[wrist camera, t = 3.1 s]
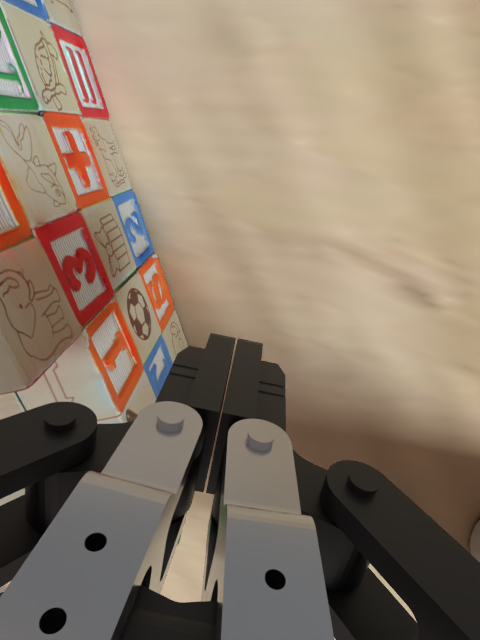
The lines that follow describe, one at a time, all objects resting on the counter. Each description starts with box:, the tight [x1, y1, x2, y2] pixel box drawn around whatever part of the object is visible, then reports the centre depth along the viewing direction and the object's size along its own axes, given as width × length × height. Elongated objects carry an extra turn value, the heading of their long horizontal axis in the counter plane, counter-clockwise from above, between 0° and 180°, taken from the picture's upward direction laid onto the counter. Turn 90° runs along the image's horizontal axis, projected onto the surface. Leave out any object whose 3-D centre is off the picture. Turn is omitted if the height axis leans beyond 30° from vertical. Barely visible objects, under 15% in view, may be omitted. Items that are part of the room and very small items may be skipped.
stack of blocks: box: [0, 0, 188, 545], centre depth 15 cm, size 21×6×12 cm, turn 15°
